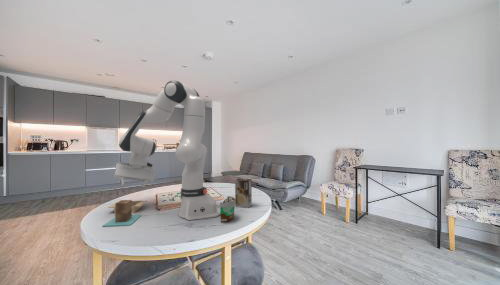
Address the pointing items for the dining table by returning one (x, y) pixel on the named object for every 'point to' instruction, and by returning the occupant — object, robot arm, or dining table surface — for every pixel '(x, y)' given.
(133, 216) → the board
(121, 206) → the block
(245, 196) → the coffee box
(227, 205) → the food container
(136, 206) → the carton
